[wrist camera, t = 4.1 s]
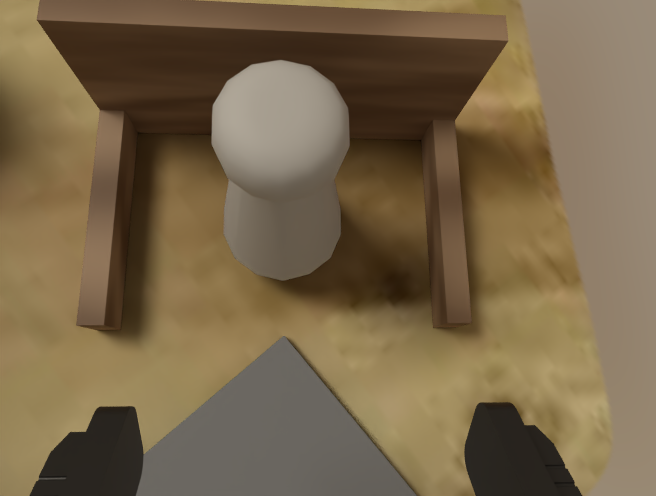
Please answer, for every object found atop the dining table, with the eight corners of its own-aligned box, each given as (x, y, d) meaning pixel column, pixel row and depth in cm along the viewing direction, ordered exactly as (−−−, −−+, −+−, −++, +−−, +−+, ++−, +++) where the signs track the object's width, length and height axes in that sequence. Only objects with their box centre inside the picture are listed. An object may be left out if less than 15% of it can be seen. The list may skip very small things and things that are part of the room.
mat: (253, 660, 22) (252, 667, 21) (118, 476, 23) (114, 479, 23) (415, 495, 24) (418, 498, 24) (284, 336, 25) (284, 335, 25)
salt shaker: (354, 259, 27) (417, 158, 14) (257, 307, 26) (232, 243, 13) (306, 168, 28) (324, -1, 15) (211, 210, 27) (146, 65, 14)
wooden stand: (455, 327, 26) (539, 304, 18) (96, 329, 25) (-7, 306, 16) (439, 122, 29) (505, 15, 21) (117, 112, 28) (40, -8, 19)
